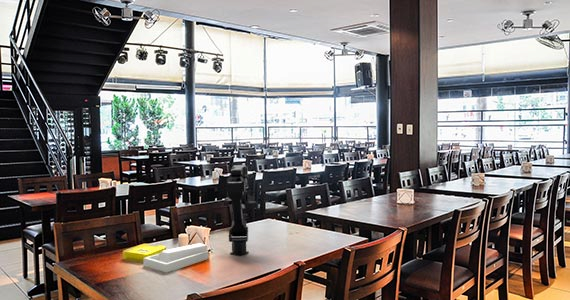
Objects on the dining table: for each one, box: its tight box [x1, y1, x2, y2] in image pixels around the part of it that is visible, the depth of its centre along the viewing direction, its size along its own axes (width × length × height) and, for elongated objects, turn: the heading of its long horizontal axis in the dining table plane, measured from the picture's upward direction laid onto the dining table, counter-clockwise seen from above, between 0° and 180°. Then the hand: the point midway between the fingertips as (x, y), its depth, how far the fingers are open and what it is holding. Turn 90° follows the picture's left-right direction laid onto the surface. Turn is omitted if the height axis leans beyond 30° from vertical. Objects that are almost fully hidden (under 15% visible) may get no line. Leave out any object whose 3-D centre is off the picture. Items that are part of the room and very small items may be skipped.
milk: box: [159, 242, 208, 263], centre depth 198 cm, size 6×6×22 cm
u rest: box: [143, 250, 210, 274], centre depth 197 cm, size 16×24×4 cm
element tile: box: [122, 243, 167, 264], centre depth 207 cm, size 15×15×5 cm
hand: (241, 220), depth 221 cm, fingers closed
